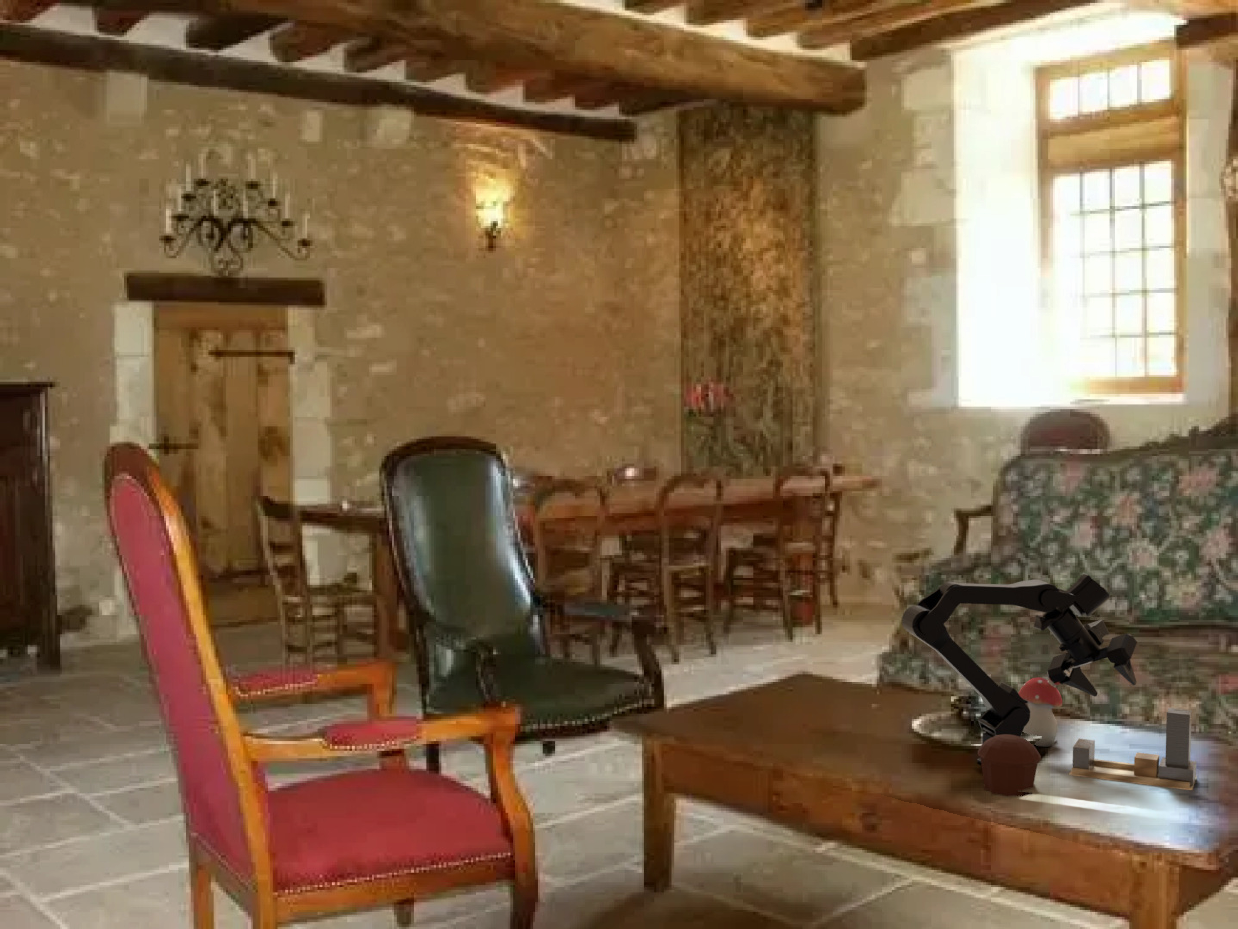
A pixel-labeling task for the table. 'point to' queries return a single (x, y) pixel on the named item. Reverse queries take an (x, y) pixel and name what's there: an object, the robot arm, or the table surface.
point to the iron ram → (1178, 748)
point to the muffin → (1008, 764)
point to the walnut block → (1146, 765)
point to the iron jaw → (1084, 754)
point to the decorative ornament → (1041, 709)
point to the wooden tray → (1125, 774)
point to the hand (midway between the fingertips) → (1115, 689)
